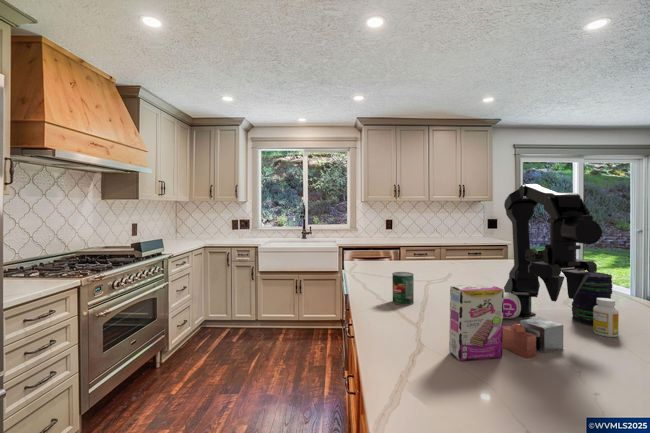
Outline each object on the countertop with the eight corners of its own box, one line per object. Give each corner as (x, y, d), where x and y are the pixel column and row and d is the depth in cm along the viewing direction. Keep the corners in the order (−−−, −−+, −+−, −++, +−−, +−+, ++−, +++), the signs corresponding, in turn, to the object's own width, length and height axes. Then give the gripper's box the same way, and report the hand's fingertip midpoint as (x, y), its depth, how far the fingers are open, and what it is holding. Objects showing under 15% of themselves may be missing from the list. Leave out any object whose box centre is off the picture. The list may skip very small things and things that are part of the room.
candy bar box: (460, 362, 75) (460, 290, 75) (448, 353, 80) (448, 285, 80) (504, 358, 77) (504, 288, 77) (490, 349, 82) (490, 283, 82)
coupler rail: (536, 339, 89) (536, 314, 88) (563, 349, 82) (563, 322, 82) (500, 347, 84) (500, 320, 84) (526, 358, 77) (526, 329, 77)
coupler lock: (538, 339, 89) (539, 317, 89) (563, 348, 83) (564, 324, 83) (519, 343, 86) (520, 320, 86) (544, 353, 80) (544, 328, 80)
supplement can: (473, 318, 103) (521, 322, 103) (475, 292, 103) (522, 295, 103) (462, 312, 111) (506, 315, 111) (463, 287, 111) (508, 290, 111)
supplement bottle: (612, 331, 94) (612, 297, 94) (622, 338, 89) (622, 302, 89) (589, 329, 96) (590, 296, 96) (598, 336, 91) (598, 300, 91)
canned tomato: (416, 301, 127) (416, 273, 127) (409, 306, 120) (409, 276, 120) (396, 298, 131) (396, 271, 131) (389, 303, 124) (389, 274, 124)
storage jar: (606, 319, 105) (606, 272, 105) (617, 329, 97) (618, 278, 96) (568, 315, 110) (568, 270, 110) (575, 324, 101) (576, 275, 101)
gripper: (555, 237, 98) (555, 290, 98) (510, 239, 91) (509, 296, 91) (598, 240, 88) (597, 299, 88) (550, 243, 81) (550, 306, 81)
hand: (562, 299), depth 87 cm, fingers open, 7 cm apart
